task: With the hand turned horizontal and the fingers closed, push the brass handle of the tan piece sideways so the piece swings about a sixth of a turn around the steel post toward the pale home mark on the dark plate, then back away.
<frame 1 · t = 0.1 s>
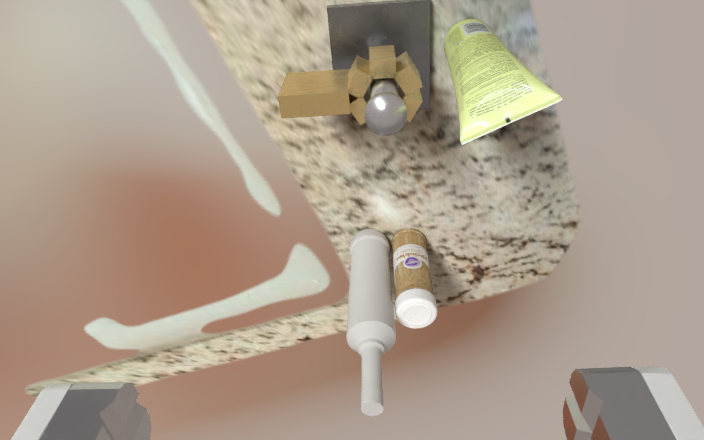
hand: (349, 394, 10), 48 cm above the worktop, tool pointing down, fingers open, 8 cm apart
bottle: (369, 242, 68), on the worktop
tan piece: (351, 90, 47), point 9 cm above the worktop, hinge at 0.0°
post: (380, 57, 54), on the worktop
tube: (465, 43, 53), on the worktop
sprinkles bottle: (408, 240, 67), on the worktop
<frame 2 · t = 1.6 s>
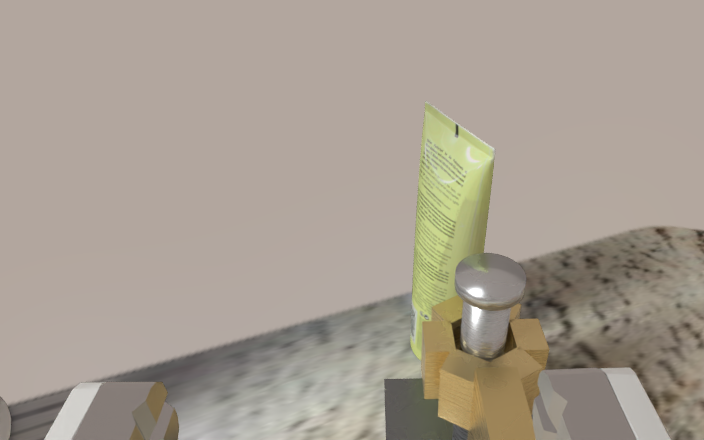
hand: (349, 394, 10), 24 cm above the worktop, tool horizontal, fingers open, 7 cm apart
tan piece: (489, 402, 27), point 9 cm above the worktop, hinge at 0.0°
tube: (442, 349, 42), on the worktop
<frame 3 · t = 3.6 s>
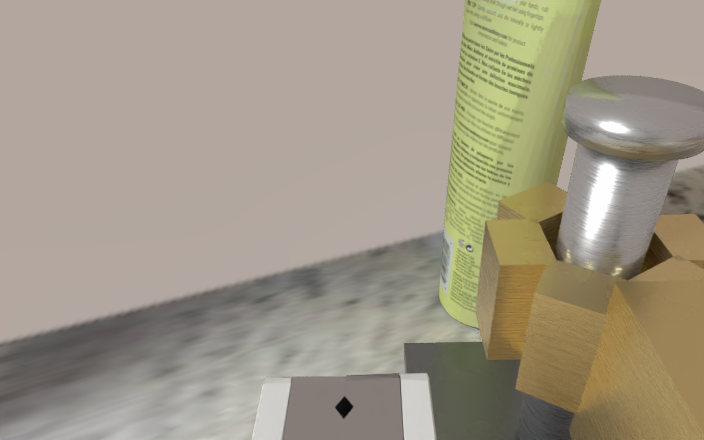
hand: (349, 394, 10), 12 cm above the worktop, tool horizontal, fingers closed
tan piece: (624, 359, 14), point 9 cm above the worktop, hinge at 0.0°
tube: (484, 305, 29), on the worktop
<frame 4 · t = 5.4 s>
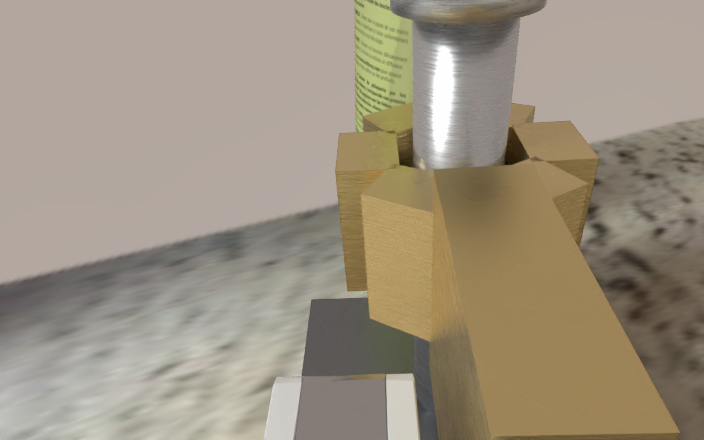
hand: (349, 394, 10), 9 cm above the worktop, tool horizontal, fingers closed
tan piece: (472, 273, 12), point 9 cm above the worktop, hinge at 0.1°, touching gripper
post: (445, 404, 20), on the worktop
tube: (409, 263, 27), on the worktop
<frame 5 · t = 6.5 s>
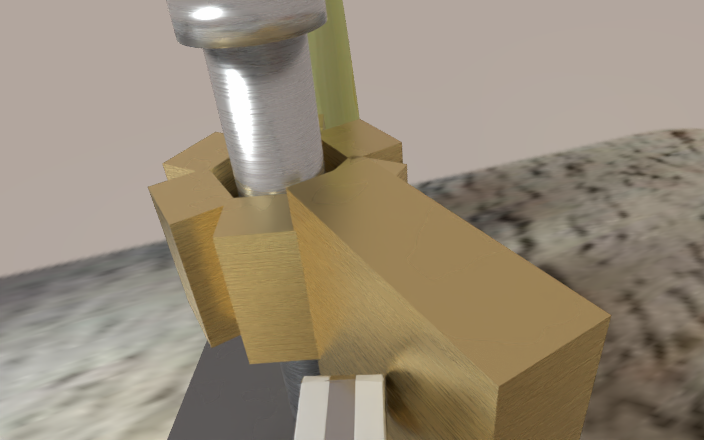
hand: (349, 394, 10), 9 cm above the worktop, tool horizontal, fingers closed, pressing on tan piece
tan piece: (339, 277, 13), point 9 cm above the worktop, hinge at 35.0°, touching gripper
post: (327, 420, 20), on the worktop
tube: (330, 276, 27), on the worktop
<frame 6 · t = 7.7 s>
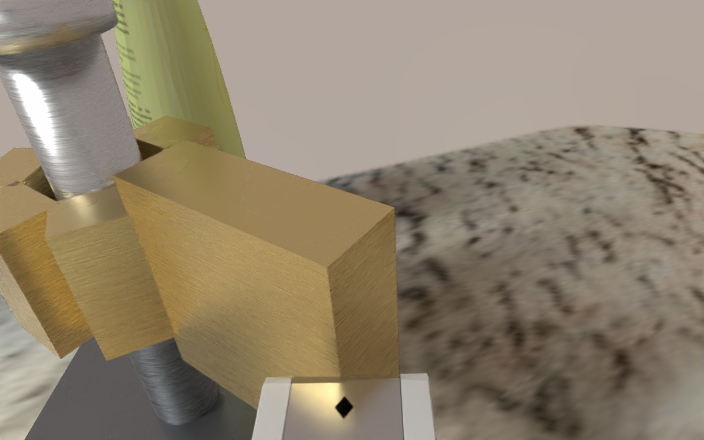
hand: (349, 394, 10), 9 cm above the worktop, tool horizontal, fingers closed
tan piece: (180, 256, 14), point 9 cm above the worktop, hinge at 55.2°
post: (193, 412, 20), on the worktop
tube: (224, 272, 28), on the worktop
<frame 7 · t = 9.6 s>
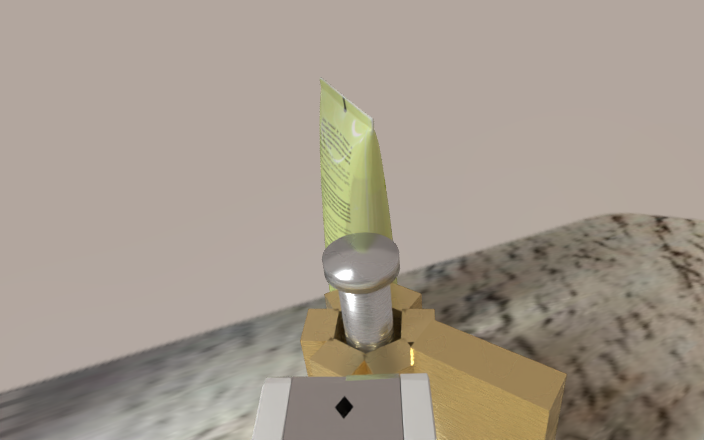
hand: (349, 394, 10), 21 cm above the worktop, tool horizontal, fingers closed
tan piece: (420, 376, 25), point 9 cm above the worktop, hinge at 55.2°
tube: (370, 349, 39), on the worktop
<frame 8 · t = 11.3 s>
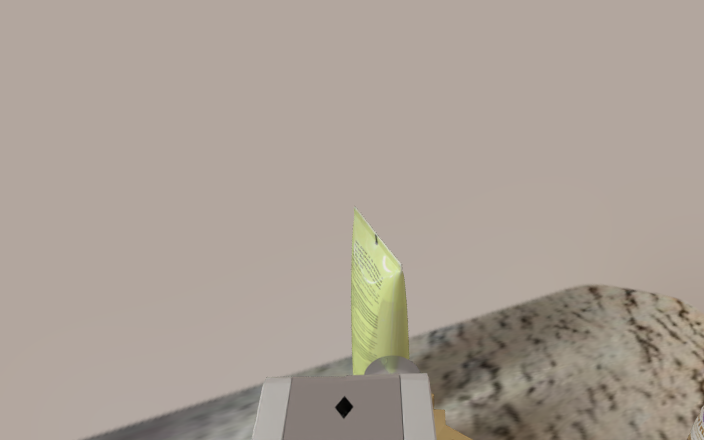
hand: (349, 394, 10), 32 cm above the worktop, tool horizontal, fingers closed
tube: (383, 411, 46), on the worktop
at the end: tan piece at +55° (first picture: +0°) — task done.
